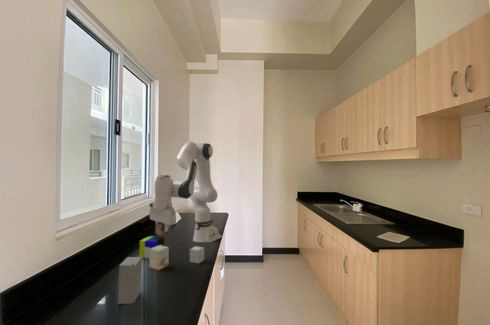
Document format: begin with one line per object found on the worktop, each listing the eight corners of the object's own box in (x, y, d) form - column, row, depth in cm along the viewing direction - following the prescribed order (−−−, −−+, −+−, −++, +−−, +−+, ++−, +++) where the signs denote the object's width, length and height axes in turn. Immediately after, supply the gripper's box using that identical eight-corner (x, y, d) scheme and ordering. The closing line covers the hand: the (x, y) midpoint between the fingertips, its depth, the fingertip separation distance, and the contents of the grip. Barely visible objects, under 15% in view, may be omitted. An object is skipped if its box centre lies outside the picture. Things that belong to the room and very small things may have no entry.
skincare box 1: (125, 293, 103) (125, 256, 103) (142, 293, 104) (142, 256, 104) (116, 305, 95) (117, 264, 95) (135, 304, 95) (135, 264, 96)
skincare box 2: (204, 260, 140) (204, 247, 140) (198, 263, 135) (198, 250, 135) (195, 258, 143) (195, 245, 143) (189, 262, 137) (189, 249, 137)
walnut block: (163, 231, 135) (163, 222, 135) (168, 233, 132) (169, 224, 132) (155, 233, 131) (155, 224, 131) (160, 235, 128) (160, 225, 128)
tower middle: (160, 254, 136) (160, 245, 136) (168, 256, 133) (168, 247, 133) (149, 258, 130) (149, 248, 130) (158, 260, 127) (158, 251, 127)
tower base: (159, 262, 136) (159, 254, 136) (168, 265, 133) (168, 256, 133) (149, 267, 130) (149, 258, 130) (158, 270, 127) (158, 260, 127)
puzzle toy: (154, 259, 142) (154, 242, 142) (139, 257, 144) (139, 240, 144) (163, 253, 151) (163, 237, 151) (149, 251, 153) (149, 236, 153)
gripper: (179, 206, 128) (178, 232, 127) (157, 202, 140) (157, 226, 140) (168, 207, 123) (168, 235, 122) (147, 203, 136) (147, 228, 135)
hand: (162, 230), depth 131 cm, fingers closed on walnut block, 5 cm apart
